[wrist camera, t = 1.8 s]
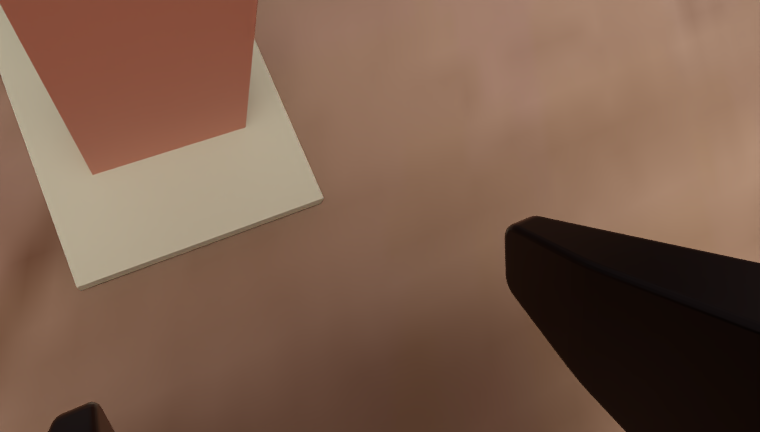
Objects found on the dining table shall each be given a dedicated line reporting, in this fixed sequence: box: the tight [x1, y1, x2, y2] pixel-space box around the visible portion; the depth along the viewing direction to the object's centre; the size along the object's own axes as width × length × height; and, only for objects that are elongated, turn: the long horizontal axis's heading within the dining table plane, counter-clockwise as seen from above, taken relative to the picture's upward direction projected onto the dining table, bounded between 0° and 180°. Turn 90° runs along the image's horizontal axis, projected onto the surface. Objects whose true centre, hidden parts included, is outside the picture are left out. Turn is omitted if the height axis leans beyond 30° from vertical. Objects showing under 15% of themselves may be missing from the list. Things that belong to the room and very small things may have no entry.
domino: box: [0, 0, 258, 175], centre depth 17 cm, size 2×5×10 cm, turn 113°
